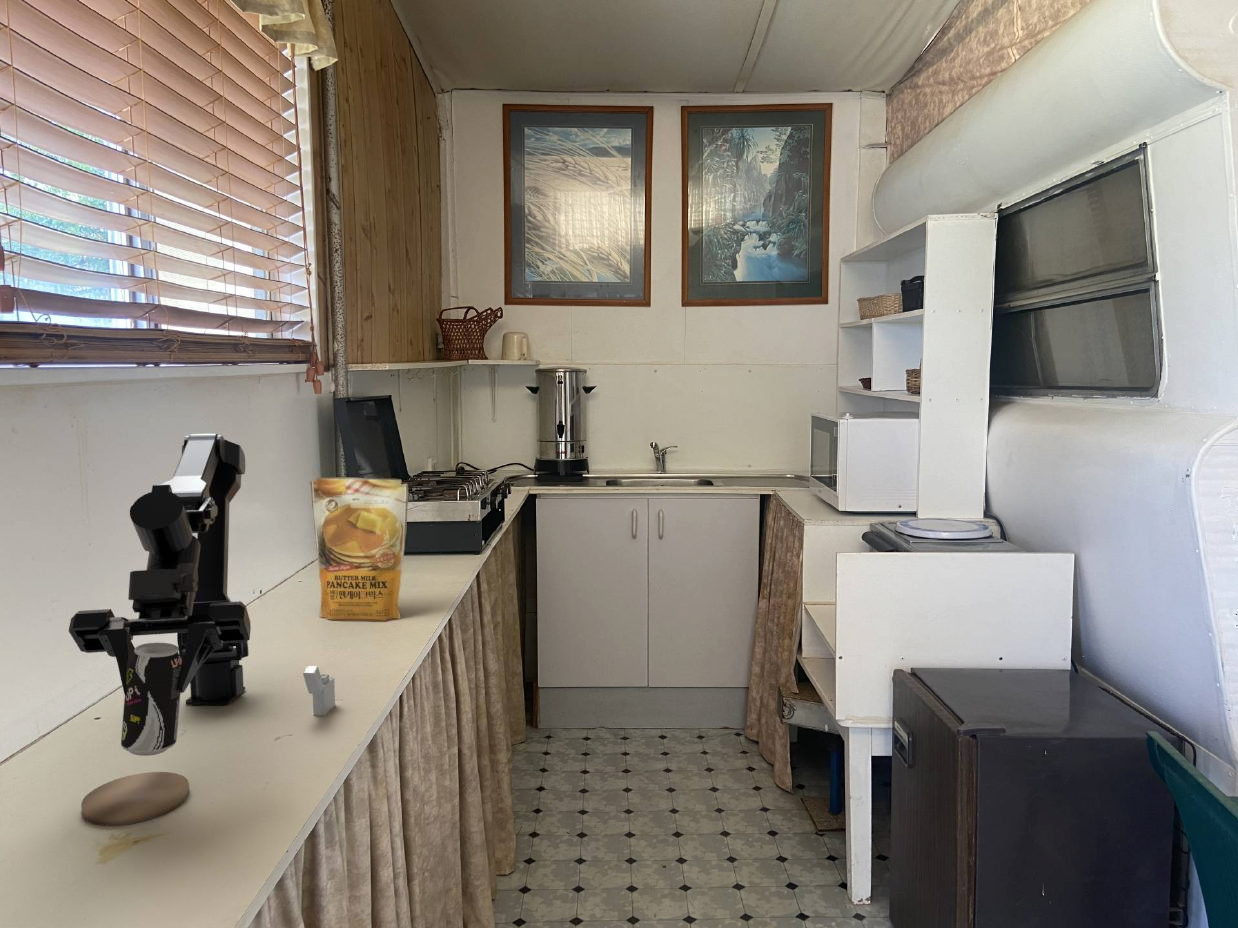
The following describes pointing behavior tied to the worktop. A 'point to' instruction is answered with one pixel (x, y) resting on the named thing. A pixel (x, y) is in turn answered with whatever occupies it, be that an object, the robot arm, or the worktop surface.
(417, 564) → the worktop surface
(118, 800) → the bronze round coaster
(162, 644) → the beverage can
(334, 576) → the pancake mix bag
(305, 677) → the lighter
